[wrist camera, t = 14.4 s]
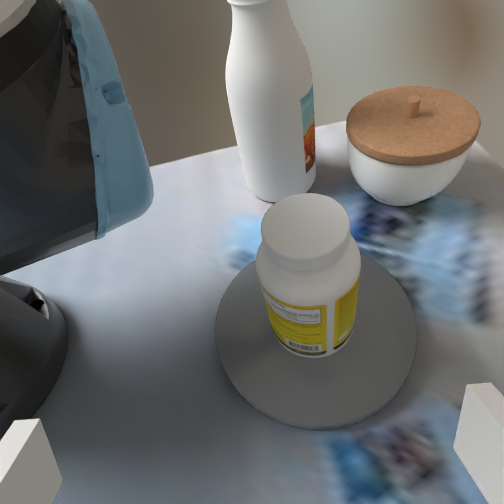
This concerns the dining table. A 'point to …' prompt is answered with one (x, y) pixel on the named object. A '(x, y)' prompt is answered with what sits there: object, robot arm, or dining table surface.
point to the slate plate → (318, 369)
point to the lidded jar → (409, 142)
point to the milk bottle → (271, 100)
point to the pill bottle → (309, 274)
